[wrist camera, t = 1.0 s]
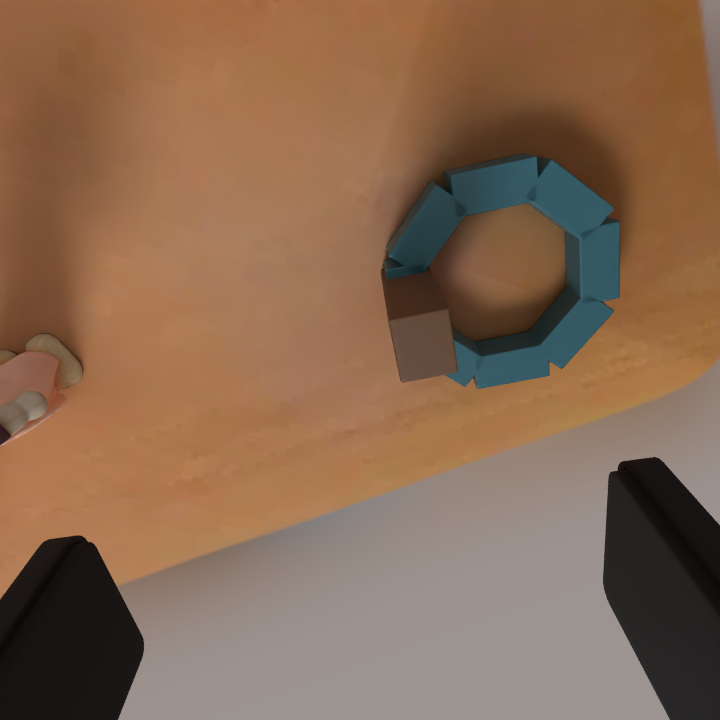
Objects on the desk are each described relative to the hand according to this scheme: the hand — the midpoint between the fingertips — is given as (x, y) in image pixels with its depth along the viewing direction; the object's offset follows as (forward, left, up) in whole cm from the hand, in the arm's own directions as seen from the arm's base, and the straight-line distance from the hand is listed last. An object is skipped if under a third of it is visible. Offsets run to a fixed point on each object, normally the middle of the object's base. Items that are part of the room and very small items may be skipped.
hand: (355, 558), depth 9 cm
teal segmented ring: (-6, 0, -15) cm, 16 cm away
